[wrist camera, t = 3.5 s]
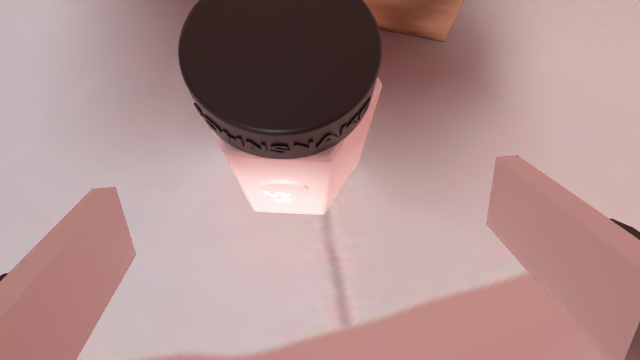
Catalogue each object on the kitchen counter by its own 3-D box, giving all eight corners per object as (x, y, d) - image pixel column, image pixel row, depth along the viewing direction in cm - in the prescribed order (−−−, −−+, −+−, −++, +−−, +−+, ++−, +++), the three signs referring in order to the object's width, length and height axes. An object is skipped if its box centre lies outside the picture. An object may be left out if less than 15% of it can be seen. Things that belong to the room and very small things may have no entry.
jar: (219, 213, 25) (146, 128, 14) (234, 102, 28) (183, -43, 17) (358, 220, 26) (396, 141, 14) (359, 109, 28) (392, -32, 17)
